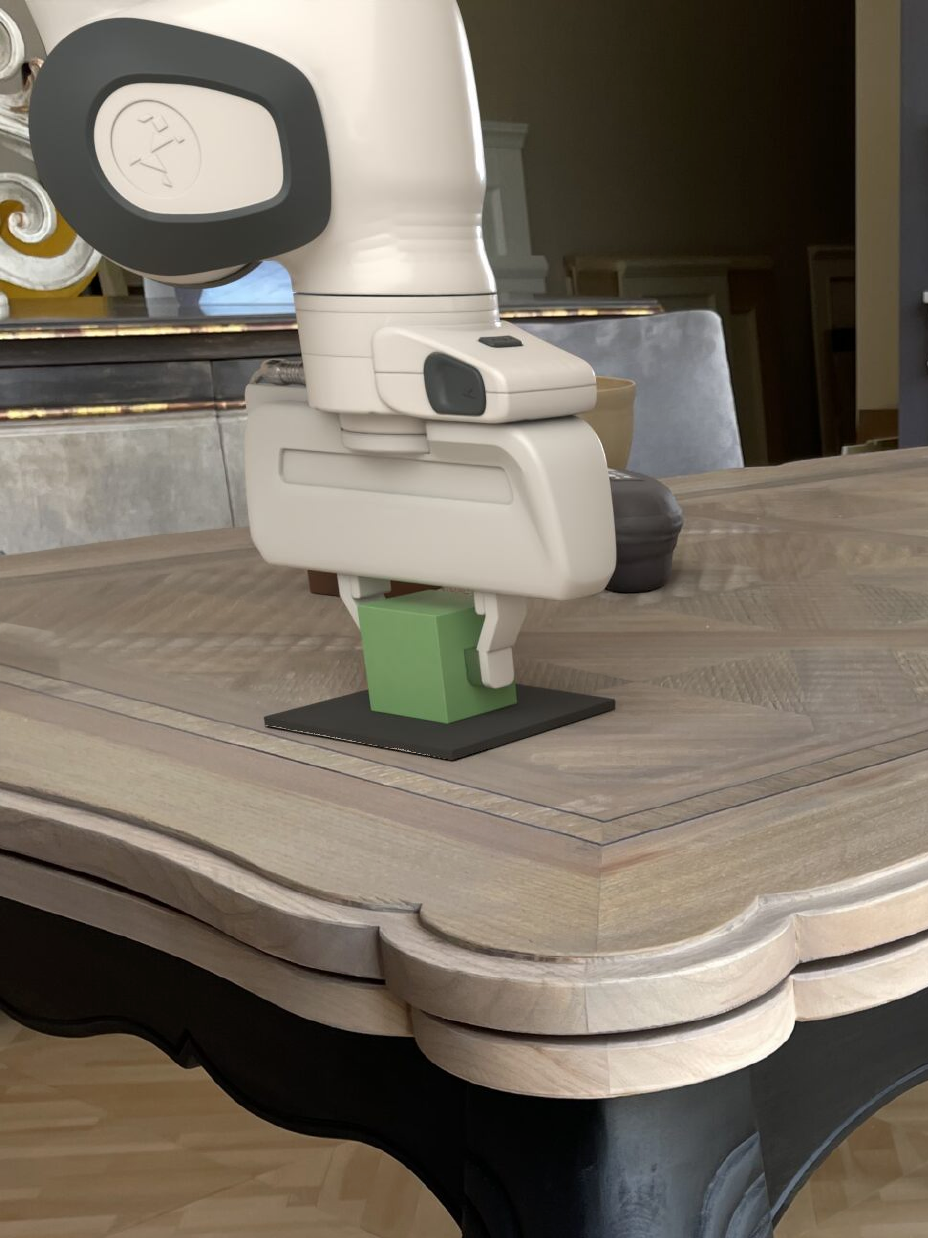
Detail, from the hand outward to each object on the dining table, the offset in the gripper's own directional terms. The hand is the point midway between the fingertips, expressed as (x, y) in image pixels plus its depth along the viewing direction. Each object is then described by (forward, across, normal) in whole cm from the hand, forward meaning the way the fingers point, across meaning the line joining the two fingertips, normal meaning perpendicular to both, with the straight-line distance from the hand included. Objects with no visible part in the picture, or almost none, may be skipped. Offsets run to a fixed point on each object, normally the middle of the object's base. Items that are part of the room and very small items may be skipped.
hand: (441, 677), depth 88 cm
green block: (+1, 0, 0) cm, 1 cm away
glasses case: (+2, -19, +37) cm, 42 cm away
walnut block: (+2, -28, +24) cm, 37 cm away
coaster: (+2, 0, 0) cm, 2 cm away
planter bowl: (+2, -35, +49) cm, 60 cm away
